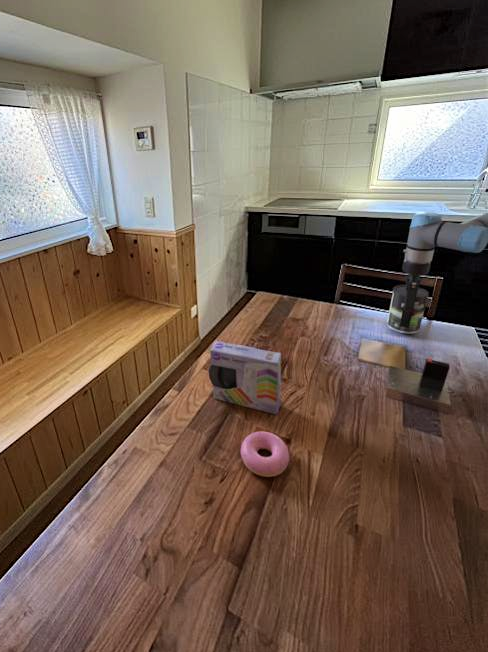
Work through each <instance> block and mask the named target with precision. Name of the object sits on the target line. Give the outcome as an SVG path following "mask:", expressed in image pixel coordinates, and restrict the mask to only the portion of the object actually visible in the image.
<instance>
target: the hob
mask: <svg viewBox="0 0 488 652" xmlns="http://www.w3.org/2000/svg"><path fill="white" fill-rule="evenodd" d="M421 375H422V372H419V371H413V370H409V369H406V368H405V369H402V368H398V367H393V366H389V368H387V372H386V383H385V384H386V387H385V397H387V398H389V399H394V400H397V401H401V402H403V403H408V404H412V405H416V406H419V407H423V408H426V409H429V410H433V411H436V412H439V413H443V414H446V415H447V414H449V411H450V408H451V399H450V393H452V391H451V390H449V386H448V385H449V384H448V379H447V378H446V380H445V384H444V387H443V390H442V391H439V390H435V389H431V388H427V387H423V386H420V379H421Z"/></svg>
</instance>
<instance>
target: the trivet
mask: <svg viewBox="0 0 488 652" xmlns="http://www.w3.org/2000/svg"><path fill="white" fill-rule="evenodd" d="M357 361H359V362H363V363H367V364H371V365H375V366H378V367H383V368H387V369H388V368H389V366H393V367H398V368H402V369H406V347H405V346H400V345H396V344H390V343H385V342H380V341H376V340H373V339H367V338H364V337H363V338H361V342H360V347H359V351H358V356H357Z"/></svg>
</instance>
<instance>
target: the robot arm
mask: <svg viewBox="0 0 488 652" xmlns="http://www.w3.org/2000/svg"><path fill="white" fill-rule="evenodd" d="M487 245H488V212H485V213H483V214H478V215H475V216H474V217H472V218H470V219H468V220H465V221H463V222H461V223H456V222H448V221H444V220H443V218H442V214H441V213H438V212H433V211H421V212H416V213H415V214H414V215H413V216H412V219H411V222H410V226H409V232H408V237H407V243H406V248H405V249H403V253H404V259H403V261H402V267H401V271H403V272H404V273H405V274H406V276H405V285H406V290H407V294H406V296H407V298H406V300H405V306H404V308H401V310H403V312H402V317H401V321H400V327H406V328H409V325H410V321H411V316H412V312H413V311H414V305H415V300H416V295H417V291H418V287H420V284H421V281H422V279H421V276H425V275H428V274H429V273H430V270H431V269H430V268H431V264H432V263H431V262H432V261H433V256H434V253H435V247H439V248H444V249H450V250H455V251H461V252H464V253H474V254H478V253H481V252H482V251H484V249H485V248H486V247H487Z"/></svg>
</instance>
